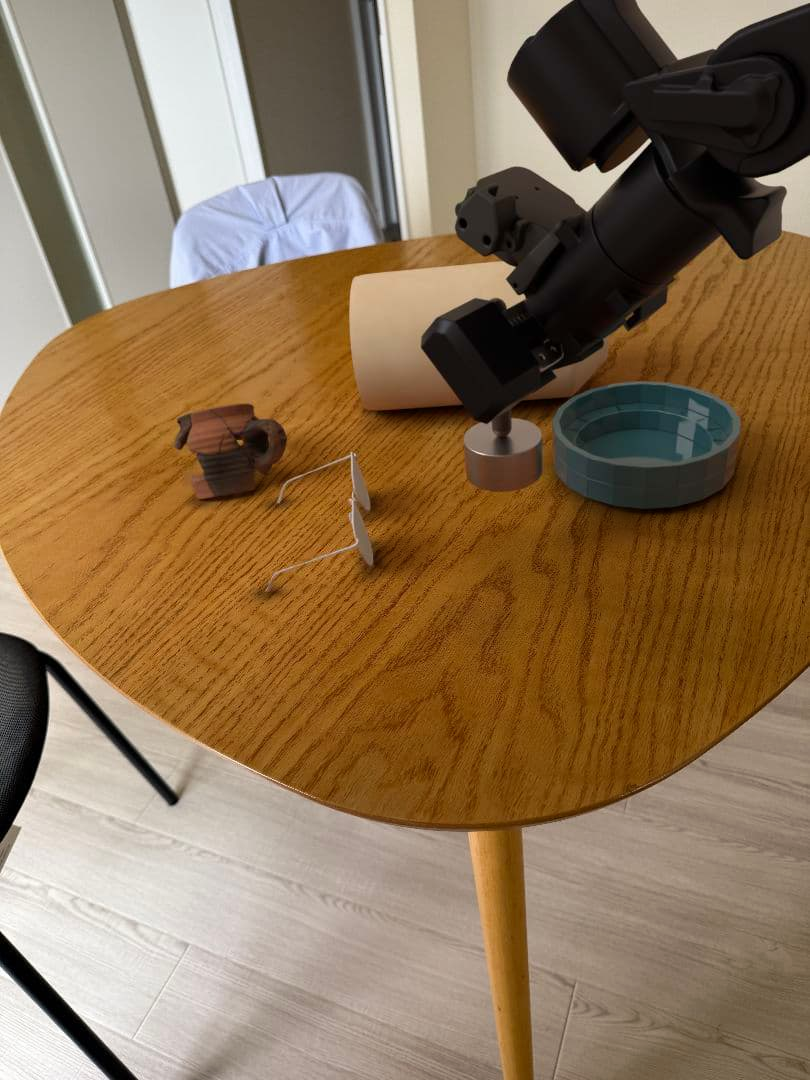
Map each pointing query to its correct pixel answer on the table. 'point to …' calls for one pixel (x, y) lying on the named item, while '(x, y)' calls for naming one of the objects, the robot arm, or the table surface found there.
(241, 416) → the pottery mug
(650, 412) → the bowl
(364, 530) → the sunglasses
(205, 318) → the table surface
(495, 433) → the silver joystick
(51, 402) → the table surface
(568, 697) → the table surface
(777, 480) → the table surface
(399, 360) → the candle
